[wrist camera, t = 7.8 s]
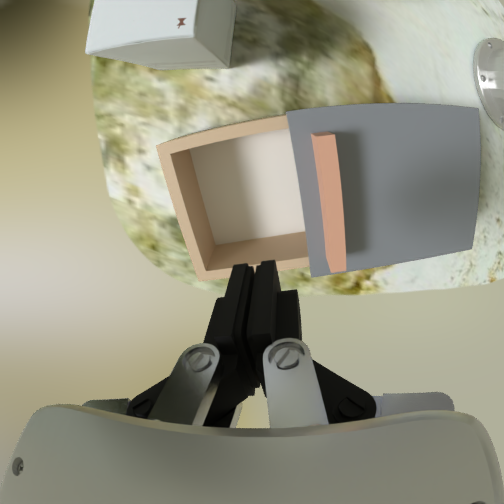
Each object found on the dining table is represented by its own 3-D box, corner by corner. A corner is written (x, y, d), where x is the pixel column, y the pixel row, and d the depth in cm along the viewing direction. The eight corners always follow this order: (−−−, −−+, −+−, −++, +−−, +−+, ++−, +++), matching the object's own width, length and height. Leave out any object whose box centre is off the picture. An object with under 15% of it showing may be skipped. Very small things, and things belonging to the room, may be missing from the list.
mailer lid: (471, 107, 15) (495, 111, 13) (467, 244, 22) (484, 261, 19) (285, 111, 18) (288, 111, 15) (310, 271, 24) (314, 294, 21)
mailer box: (340, 107, 23) (359, 107, 18) (353, 229, 29) (369, 257, 24) (178, 137, 25) (155, 145, 20) (210, 250, 31) (198, 281, 26)
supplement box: (238, 5, 18) (214, -58, 7) (230, 70, 22) (196, 40, 11) (165, 9, 18) (102, -36, 7) (157, 71, 22) (81, 56, 11)
